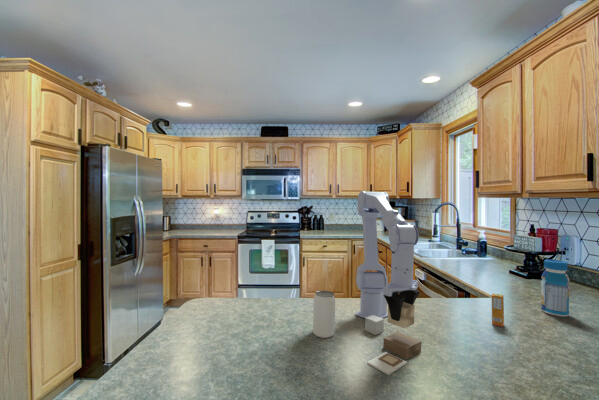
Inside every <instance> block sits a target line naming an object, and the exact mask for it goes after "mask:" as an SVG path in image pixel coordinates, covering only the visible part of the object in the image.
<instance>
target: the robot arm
mask: <svg viewBox="0 0 599 400" xmlns="http://www.w3.org/2000/svg"><path fill="white" fill-rule="evenodd" d="M356 202H357V213H358V214H357V215H359V216H361V218H362V236H363V237H362V239H363V240H362V241H363V256H364V257H363V258H364V259H363V260H364V261H363V263H361V264H360V265H359V266H358V267H357V268H356V276H355V283H356V287H357V289H359V290H360V305H359V307H360V309H359V311H357V312H355V313H354V314H355V315H356V316H358V317H361V318H363V319H365V318H366V317H369V316H371V315H375V316H378V317H380V318H383V319H384V318H386V317H387V318H388V307H389V310H390V315H391V319H393V320H396V321H399V320H400V316H401V308H402V305H403V302H405V303H408V304H411V305H415V302H416V300H417V298H418V296H419V295H420V290H418V288H419V280H416V279H414V261H415V259H414V258H415V257H414V255H415V253H414V252H415V246H417V244H418V242H419V238H420V234H419V229H418V228H417V225H416V224H415V223H414V224H413V223H408V222H407V220H405V218H404V217H403V215H401V212H400V211H399V210H398V209H393V208H392V206H391V204H390V196H389V193H388V192H387V191H368V190H367V191H364V190H361V191H359V193H358V196H357V201H356ZM380 216H381V222H382V224H383V226H384V227H385V229H386V230H387V231H388V235H387V236H388V241H389V249H390V251H391V265H390V266H391V269H390V270H391V271H390V282H388V276H387V272H386V268H385V267H384V266H383V265H382V264H381V263H379V251H378V250H379V247H378V246H379V245H378V231H377V230H378V228H377V226H378V225H377V218H378V217H380ZM355 315H354V316H355Z"/></svg>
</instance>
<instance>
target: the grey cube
mask: <svg viewBox="0 0 599 400" xmlns="http://www.w3.org/2000/svg"><path fill="white" fill-rule="evenodd" d="M364 319H365V324H364V325H365V326H364V330H365V331H366V332H368V333H370V334H373V335H376V336H377V335H380V334H382V333H383V332H384V330H385V326H384V325H385V319H384V318H380V317H378V316H375V315H371V316H369V317H366V318H364Z"/></svg>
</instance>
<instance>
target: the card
mask: <svg viewBox="0 0 599 400" xmlns="http://www.w3.org/2000/svg"><path fill="white" fill-rule="evenodd" d="M366 362H367V363H366V364H368V365H370V366H371V367H373V368H375V369H376V370H379V372H382V373H384V374H386V375H387V376H390V375H392V374H393V373H394V372H396V371H397V370H399V369H401V368H402V367H403V366H406V365H407V361H406V360H403V359H401V357H397V356H395V355H393V354H391V353H389V352H387V351H385V352H383V353H381V354H379V355H377V356H375V357H373V358H372V359H370V360H368V361H366Z"/></svg>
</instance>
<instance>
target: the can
mask: <svg viewBox="0 0 599 400" xmlns="http://www.w3.org/2000/svg"><path fill="white" fill-rule="evenodd" d="M314 294H315V295H314V297H313V311H312V312H313V314H312V316H313V317H312V333H313V334H314V336H315V337H318V338H321V339H329V338H331V337H333V336H334V335H335V323H336V320H335V318H336V297H335V293H334V292H332V291H329V290H318V291H316V292H315V293H314Z"/></svg>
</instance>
